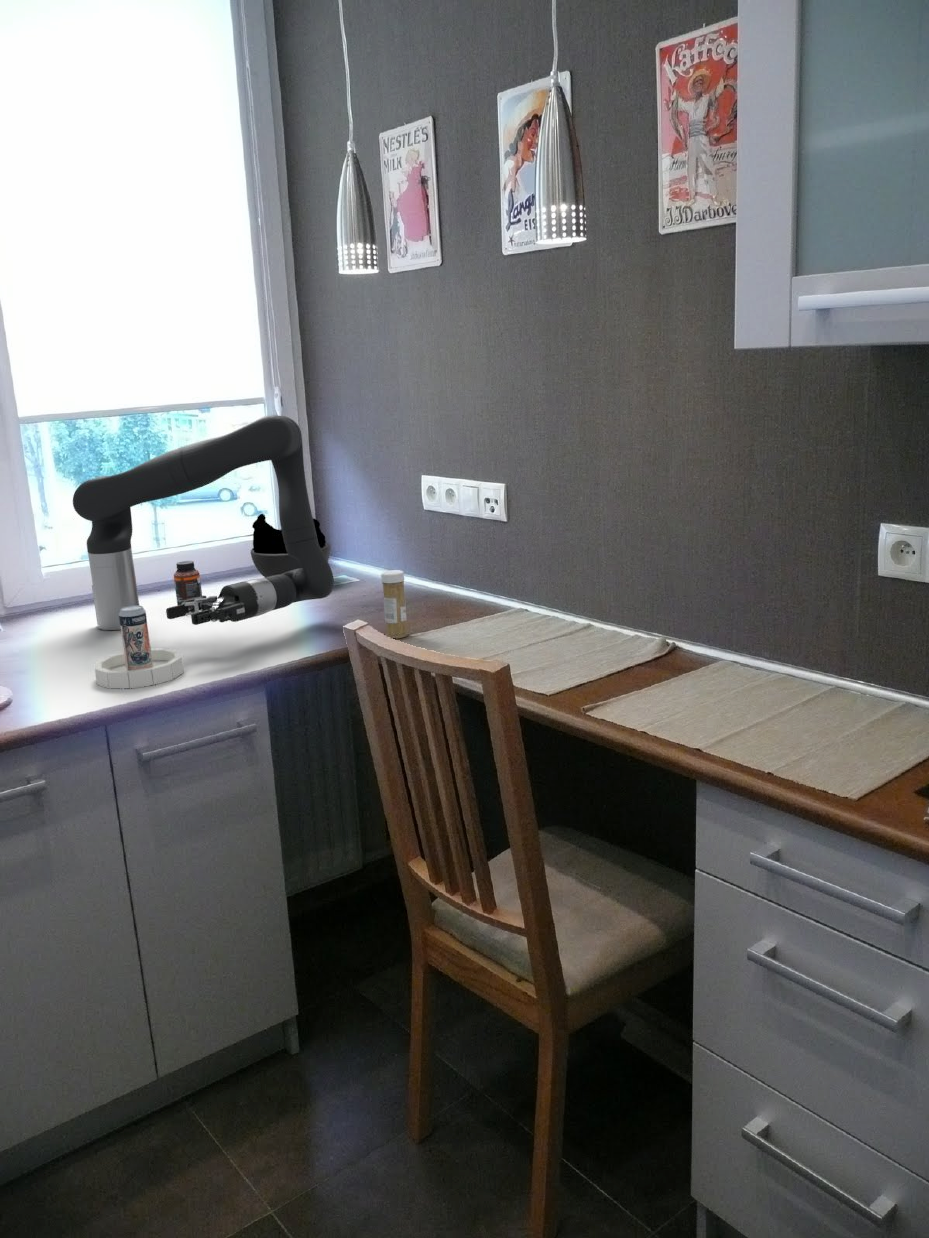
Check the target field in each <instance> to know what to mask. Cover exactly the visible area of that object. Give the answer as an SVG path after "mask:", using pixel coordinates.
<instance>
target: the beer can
mask: <svg viewBox="0 0 929 1238" xmlns="http://www.w3.org/2000/svg"><path fill="white" fill-rule="evenodd" d="M119 620H120V627H121V629H120V634H121V640H122V648H123V652H124V655H125V662H126V669H127V671H131V670H139V669H146V668H151V667H153V663H152V655H151V649H152V648H151V643H150V640H151V639H150V636H149V627H148V621H147V612H146V609H145V608H144V606H142V605H140V604H139V605H135V606H127V607H123V608H121V610H120V613H119Z"/></svg>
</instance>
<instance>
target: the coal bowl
mask: <svg viewBox="0 0 929 1238" xmlns="http://www.w3.org/2000/svg"><path fill="white" fill-rule="evenodd" d="M313 521H314V526H315V530H316V534H317V537H316V538H317V539H318V544H319V546H320V548H321V550H322V551H323V553H324V555H325V557H326V559H327V562H328V561H329V560H330V554H331V543H329V542H328V541H327V540H326V535H325V534H324V533H323V532H322V530H321V528H320V526H321V522H319V520H317V519H316V518H313ZM251 527H252V528H253V534H252V548H251V550H250V556H251V560H252V562H253V564H254V566H255V569H256V570H257V571H258V572H259V573H260V575H261V576H263V578H265V577H269V576H273V575H280V574H283V573H286V572H288V571H292V570H295V569H299V568H302V566H301V564H300V562H299V560H298V559H296V558H293V557H290V556H289V555H288V553H287V551H286V547H285V543H284V539H283V534H282V530H281V529H279V528H278V529H277V528H275V527H274V526H273V525H271V524H269V523H268V522H267V521H266V516H265V514H264V513H261V514H259V515H258V516H257V517H256V520H254V521H253V522H252V526H251ZM328 563H329V562H328Z"/></svg>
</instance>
